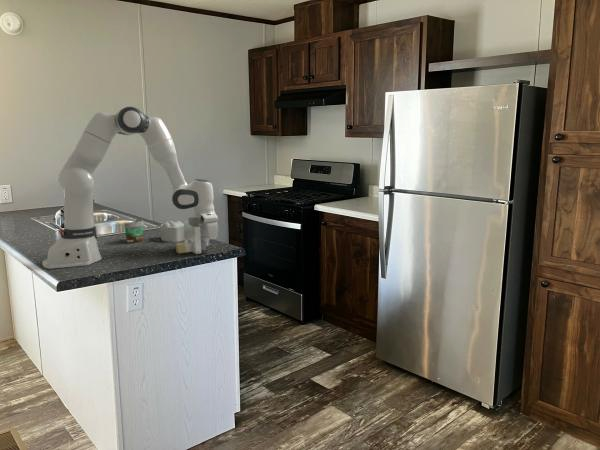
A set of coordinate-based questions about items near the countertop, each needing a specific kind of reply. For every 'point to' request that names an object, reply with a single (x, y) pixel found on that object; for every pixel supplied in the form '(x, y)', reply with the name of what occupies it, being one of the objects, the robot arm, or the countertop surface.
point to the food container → (134, 231)
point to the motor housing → (193, 234)
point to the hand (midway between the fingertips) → (206, 245)
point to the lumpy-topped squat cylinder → (172, 231)
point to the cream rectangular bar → (188, 247)
